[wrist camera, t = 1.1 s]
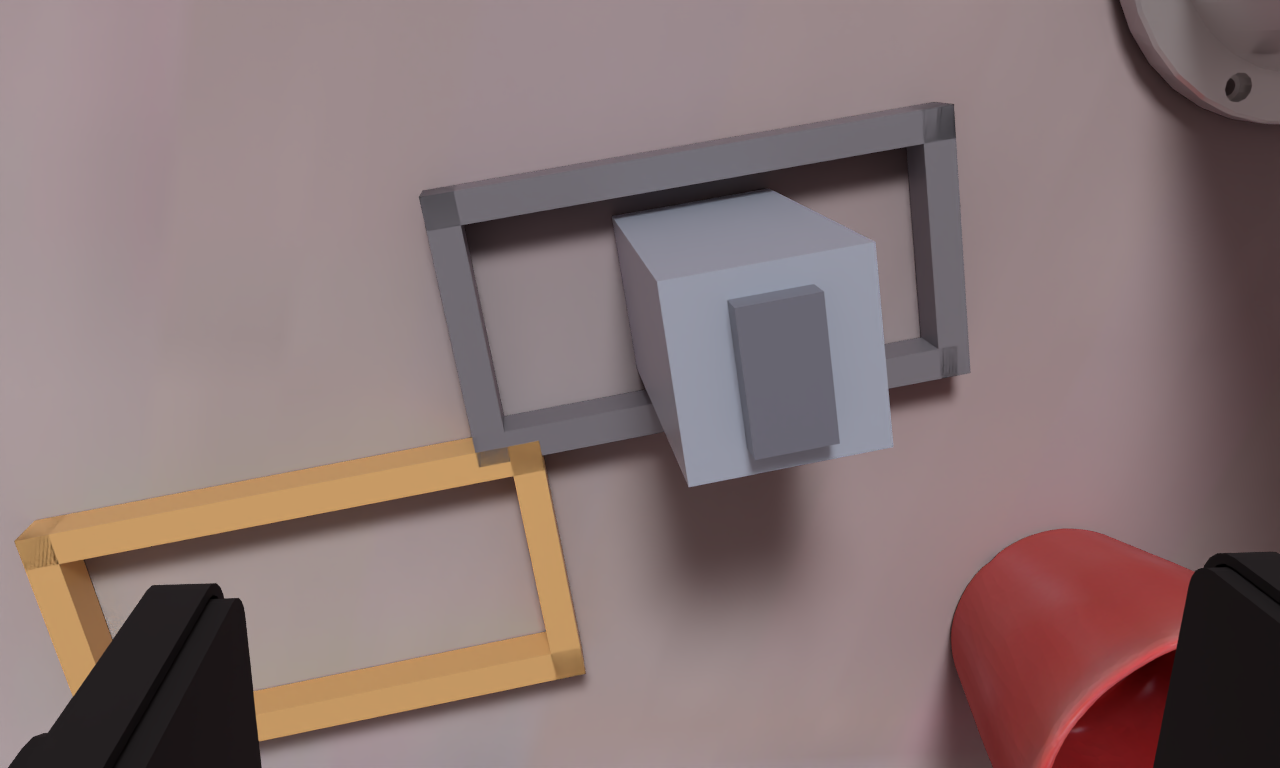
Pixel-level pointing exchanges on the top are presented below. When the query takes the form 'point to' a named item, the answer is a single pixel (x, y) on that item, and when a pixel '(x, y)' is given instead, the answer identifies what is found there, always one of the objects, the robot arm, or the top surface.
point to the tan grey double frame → (506, 420)
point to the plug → (755, 333)
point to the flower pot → (1070, 650)
